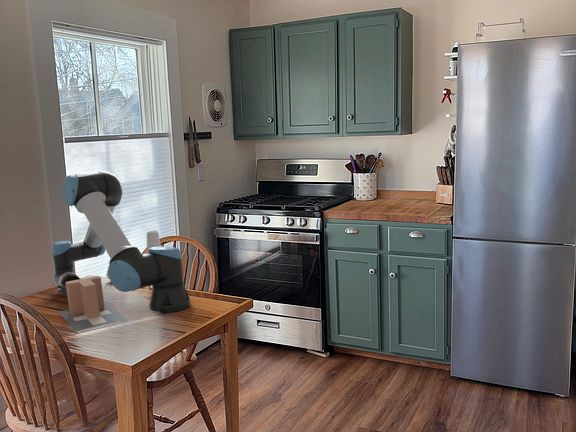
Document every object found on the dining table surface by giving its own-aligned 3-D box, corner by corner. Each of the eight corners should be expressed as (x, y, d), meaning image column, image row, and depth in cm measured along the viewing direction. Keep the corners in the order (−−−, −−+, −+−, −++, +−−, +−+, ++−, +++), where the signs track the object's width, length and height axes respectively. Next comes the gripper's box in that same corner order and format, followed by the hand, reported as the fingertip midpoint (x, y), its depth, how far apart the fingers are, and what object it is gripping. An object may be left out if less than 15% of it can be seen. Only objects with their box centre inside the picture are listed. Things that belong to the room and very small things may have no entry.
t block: (69, 312, 217) (65, 281, 215) (101, 305, 223) (98, 275, 221) (77, 321, 206) (72, 288, 204) (110, 313, 212) (107, 282, 210)
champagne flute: (166, 286, 248) (160, 232, 244) (150, 289, 246) (144, 233, 243) (165, 283, 255) (159, 229, 251) (149, 285, 253) (143, 231, 249)
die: (124, 278, 270) (109, 263, 268) (133, 271, 265) (118, 256, 263) (114, 289, 264) (98, 274, 262) (123, 282, 258) (108, 266, 257)
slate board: (59, 314, 220) (58, 311, 219) (106, 304, 229) (106, 301, 229) (75, 334, 196) (74, 331, 196) (127, 321, 205) (127, 319, 205)
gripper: (87, 287, 243) (101, 300, 223) (54, 294, 236) (66, 307, 217) (85, 270, 242) (99, 281, 222) (52, 276, 235) (63, 288, 215)
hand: (83, 294), depth 219 cm, fingers closed
